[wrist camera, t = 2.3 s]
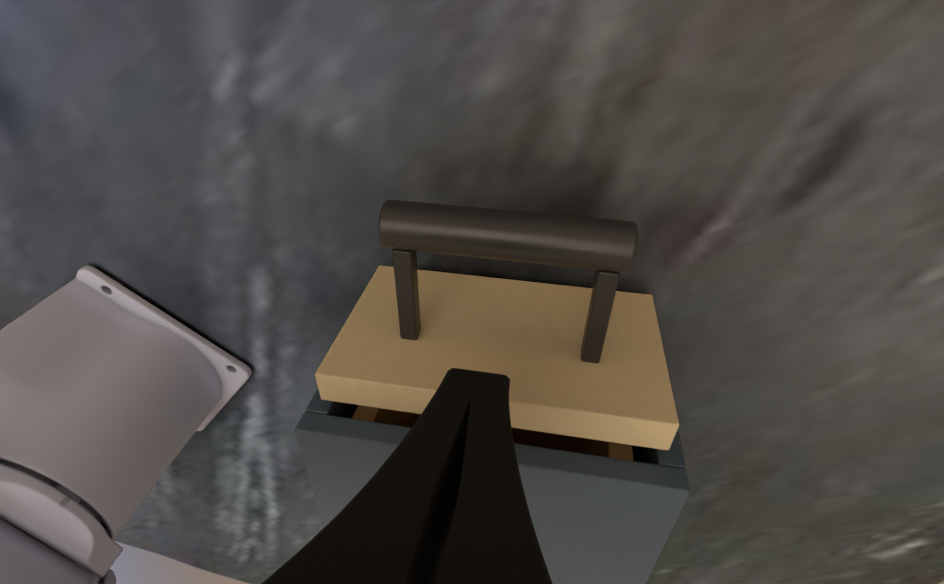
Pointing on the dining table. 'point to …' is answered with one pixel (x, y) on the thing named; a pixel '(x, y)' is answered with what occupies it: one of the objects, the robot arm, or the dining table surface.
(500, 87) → the dining table surface
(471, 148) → the dining table surface
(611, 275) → the drawer
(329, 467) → the cabinet
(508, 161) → the dining table surface
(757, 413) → the dining table surface
